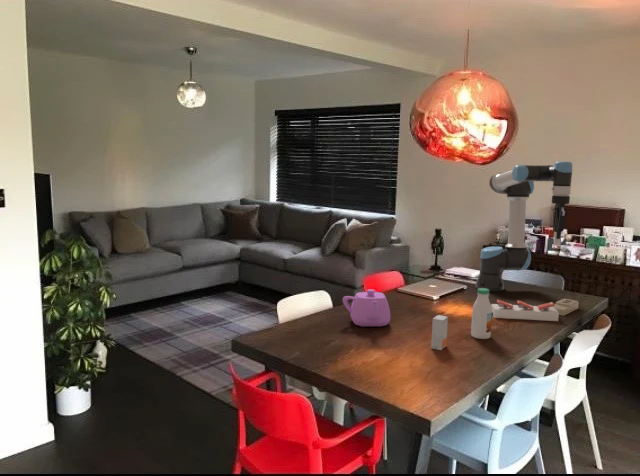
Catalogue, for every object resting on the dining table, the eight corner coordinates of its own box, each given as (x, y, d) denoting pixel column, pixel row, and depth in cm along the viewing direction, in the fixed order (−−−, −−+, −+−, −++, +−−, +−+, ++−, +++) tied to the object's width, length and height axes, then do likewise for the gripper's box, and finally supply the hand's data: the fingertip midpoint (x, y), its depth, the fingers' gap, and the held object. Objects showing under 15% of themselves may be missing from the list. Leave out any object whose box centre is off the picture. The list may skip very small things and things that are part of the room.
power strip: (475, 311, 253) (476, 300, 252) (552, 315, 248) (553, 304, 247) (478, 316, 244) (479, 306, 243) (558, 321, 239) (559, 310, 238)
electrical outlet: (548, 304, 252) (563, 298, 264) (548, 313, 253) (563, 306, 265) (564, 308, 247) (578, 301, 259) (563, 316, 247) (578, 309, 260)
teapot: (340, 317, 241) (341, 285, 239) (386, 317, 242) (387, 285, 240) (344, 334, 219) (345, 298, 216) (395, 334, 219) (396, 298, 217)
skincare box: (441, 350, 201) (443, 320, 199) (430, 348, 203) (432, 318, 201) (446, 346, 206) (448, 316, 204) (436, 343, 208) (437, 314, 206)
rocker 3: (537, 307, 244) (537, 305, 244) (552, 304, 243) (552, 301, 243) (539, 309, 241) (538, 307, 241) (554, 306, 239) (554, 303, 239)
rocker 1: (496, 301, 246) (497, 299, 246) (510, 306, 246) (511, 304, 246) (498, 303, 243) (499, 301, 243) (512, 308, 242) (513, 306, 242)
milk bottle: (480, 340, 212) (483, 292, 209) (466, 334, 219) (469, 288, 216) (494, 337, 216) (497, 290, 213) (480, 332, 223) (483, 286, 220)
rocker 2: (517, 301, 245) (518, 299, 245) (530, 307, 244) (532, 305, 244) (518, 303, 242) (519, 301, 242) (532, 309, 241) (533, 307, 241)
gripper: (548, 194, 251) (544, 242, 255) (556, 196, 239) (552, 247, 242) (565, 194, 250) (561, 243, 254) (574, 196, 237) (569, 248, 241)
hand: (556, 245), depth 248 cm, fingers closed
